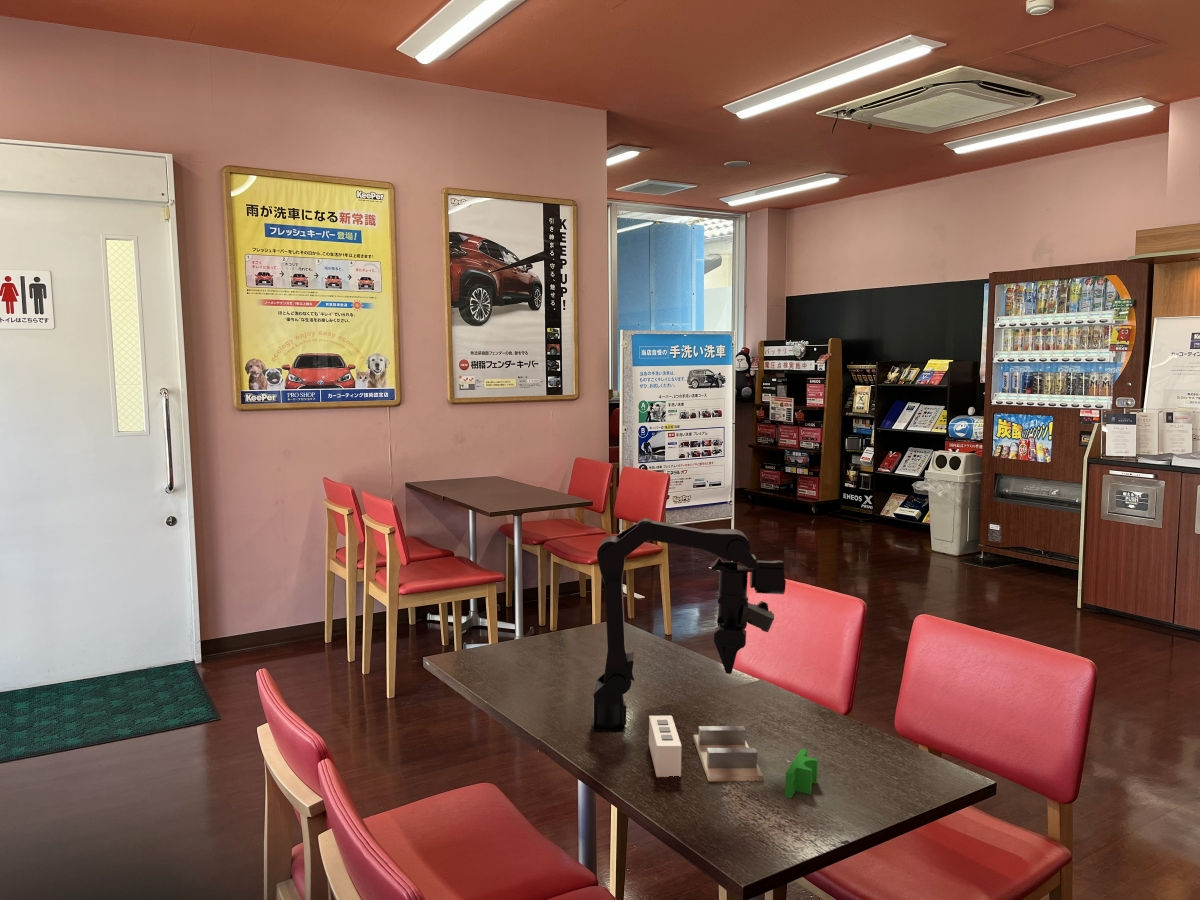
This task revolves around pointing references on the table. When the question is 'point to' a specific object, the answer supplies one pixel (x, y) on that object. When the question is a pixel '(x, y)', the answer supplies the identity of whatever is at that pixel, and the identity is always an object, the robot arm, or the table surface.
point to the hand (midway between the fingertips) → (729, 665)
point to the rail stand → (727, 754)
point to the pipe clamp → (801, 774)
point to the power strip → (664, 746)
